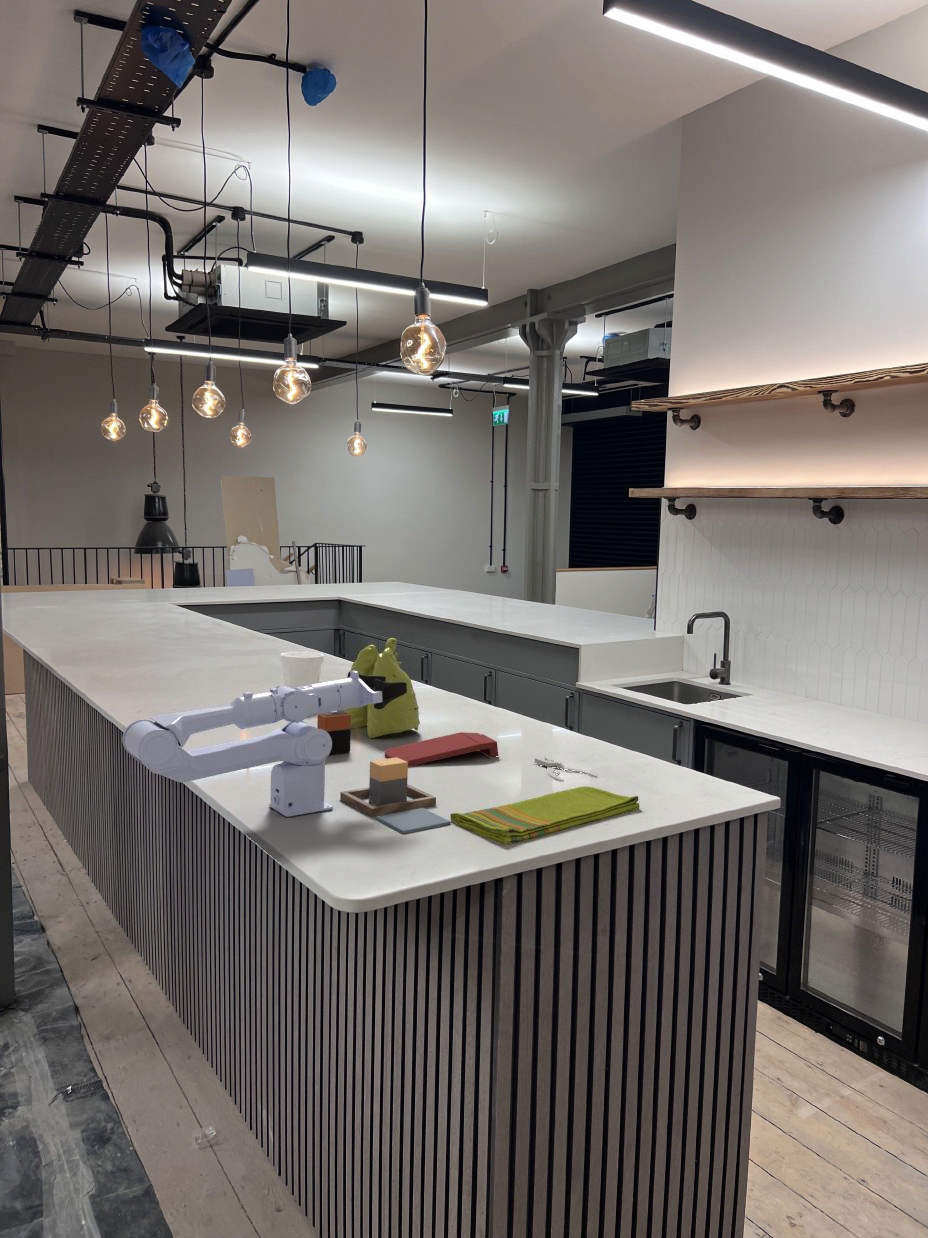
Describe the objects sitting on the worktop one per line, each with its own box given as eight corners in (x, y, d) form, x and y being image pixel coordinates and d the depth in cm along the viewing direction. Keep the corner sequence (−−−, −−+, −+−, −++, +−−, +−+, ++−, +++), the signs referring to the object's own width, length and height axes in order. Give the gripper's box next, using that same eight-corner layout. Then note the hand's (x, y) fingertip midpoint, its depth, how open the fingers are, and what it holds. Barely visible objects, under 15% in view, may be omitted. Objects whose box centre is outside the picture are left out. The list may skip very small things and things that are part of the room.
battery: (351, 752, 206) (352, 710, 205) (324, 756, 202) (325, 713, 201) (342, 748, 210) (342, 707, 209) (316, 752, 206) (316, 709, 205)
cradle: (372, 817, 160) (372, 808, 160) (340, 799, 170) (340, 792, 170) (435, 805, 169) (436, 797, 169) (402, 789, 178) (402, 782, 178)
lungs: (430, 736, 226) (433, 642, 224) (376, 742, 217) (379, 645, 215) (382, 717, 246) (384, 631, 244) (331, 723, 238) (333, 633, 235)
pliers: (560, 776, 188) (522, 759, 201) (560, 783, 188) (522, 766, 201) (598, 771, 193) (558, 755, 206) (597, 778, 193) (558, 762, 206)
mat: (403, 833, 152) (403, 831, 152) (376, 819, 159) (376, 816, 159) (450, 824, 158) (450, 821, 158) (422, 810, 165) (422, 808, 165)
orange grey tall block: (379, 808, 166) (380, 766, 165) (368, 802, 169) (370, 761, 168) (406, 803, 170) (408, 762, 169) (395, 797, 173) (396, 757, 172)
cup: (315, 712, 251) (316, 658, 249) (273, 709, 252) (273, 655, 251) (328, 703, 263) (329, 652, 261) (288, 701, 265) (289, 650, 263)
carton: (400, 784, 196) (502, 759, 205) (398, 763, 195) (500, 739, 204) (383, 770, 207) (480, 747, 216) (381, 750, 206) (478, 728, 216)
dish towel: (447, 824, 160) (447, 806, 159) (582, 792, 183) (583, 777, 182) (504, 849, 148) (505, 831, 148) (641, 812, 171) (642, 795, 170)
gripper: (351, 680, 159) (414, 669, 167) (314, 669, 171) (375, 659, 179) (353, 719, 160) (416, 706, 168) (316, 705, 172) (377, 693, 180)
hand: (395, 684), depth 174 cm, fingers open, 7 cm apart
